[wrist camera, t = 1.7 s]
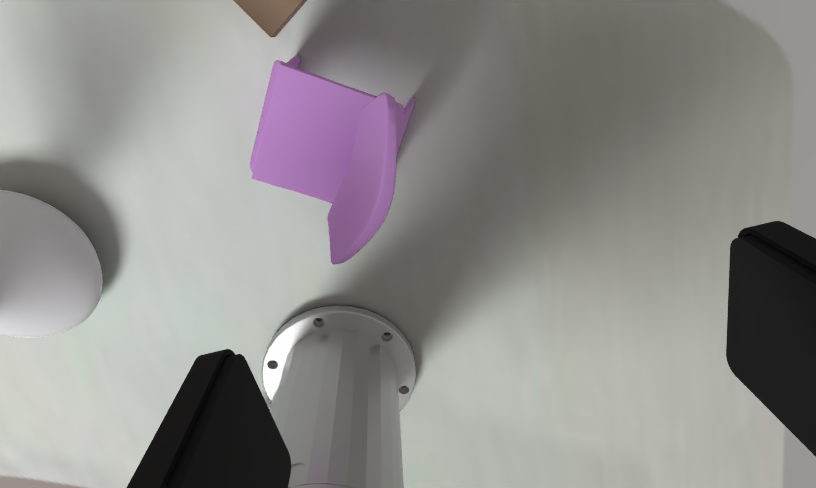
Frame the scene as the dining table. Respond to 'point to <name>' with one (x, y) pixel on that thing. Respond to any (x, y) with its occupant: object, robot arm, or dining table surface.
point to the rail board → (271, 13)
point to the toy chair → (331, 150)
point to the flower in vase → (44, 269)
